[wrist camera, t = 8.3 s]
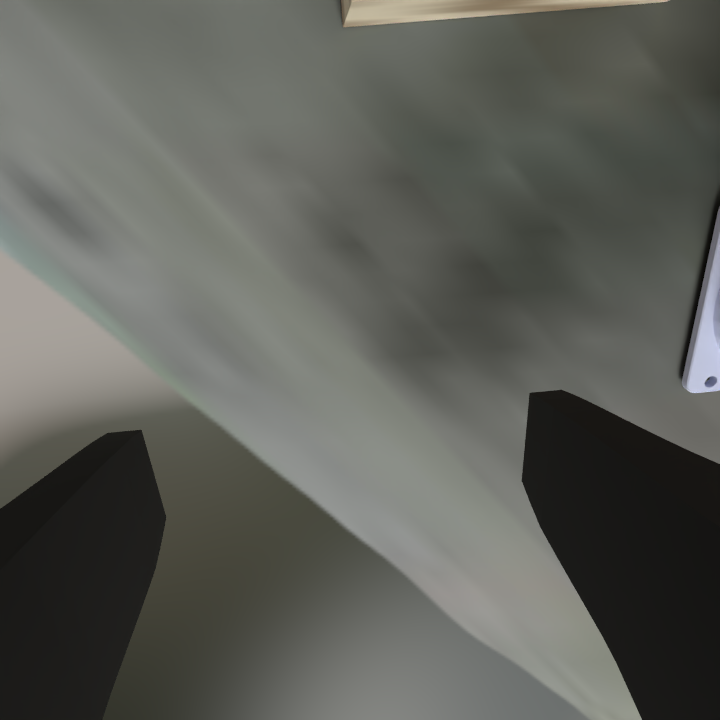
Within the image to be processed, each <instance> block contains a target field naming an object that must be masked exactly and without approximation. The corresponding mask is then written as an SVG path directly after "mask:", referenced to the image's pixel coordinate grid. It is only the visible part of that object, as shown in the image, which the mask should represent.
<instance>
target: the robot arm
mask: <svg viewBox="0 0 720 720" xmlns="http://www.w3.org/2000/svg"><path fill="white" fill-rule="evenodd" d="M709 377H710V379H709V380H708V381H707V382H705V381H706V379H707V378H709ZM682 385H683V387H684V388H685V389H686V390H688V391H689V392H691V393H702V392H711V391H720V206H719V209H718V214H717V218H716V223H715V228H714V232H713V237H712V242H711V247H710V251H709V256H708V261H707V265H706V270H705V275H704V279H703V284H702V289H701V294H700V298H699V303H698V308H697V312H696V317H695V322H694V327H693V331H692V336H691V341H690V345H689V350H688V355H687V360H686V364H685V369H684V374H683V378H682ZM522 482H523V485H524V488H525V490H526V493H527V495H528V498H529V501H530V503H531V506H532V508H533V510H534V513H535V515H536V518H537V520H538V522H539V525H540V527H541V529H542V531H543V533H544V534H545V536H546V538H547V540H548V542H549V543H550V545H551V547H552V549H553V551H554V552H555V554H556V556H557V558H558V559H559V561H560V563H561V565H562V566H563V568H564V570H565V572H566V573H567V575H568V577H569V579H570V580H571V582H572V584H573V586H574V587H575V589H576V591H577V593H578V594H579V596H580V598H581V600H582V601H583V603H584V605H585V607H586V608H587V610H588V612H589V614H590V615H591V617H592V619H593V620H594V622H595V624H596V626H597V627H598V629H599V631H600V633H601V634H602V636H603V638H604V640H605V642H606V644H607V646H608V648H609V650H610V652H611V653H612V655H613V657H614V659H615V661H616V663H617V665H618V667H619V670H620V672H621V674H622V676H623V678H624V681H625V683H626V685H627V687H628V689H629V692H630V694H631V696H632V698H633V700H634V703H635V705H636V707H637V709H638V712H639V714H640V716H641V718H642V720H720V464H718V463H716V462H713V461H711V460H709V459H706V458H704V457H702V456H700V455H697V454H695V453H693V452H691V451H688V450H686V449H684V448H682V447H680V446H678V445H676V444H673V443H671V442H669V441H667V440H665V439H663V438H661V437H659V436H657V435H655V434H653V433H651V432H649V431H647V430H645V429H642V428H640V427H638V426H636V425H634V424H632V423H630V422H628V421H626V420H624V419H622V418H620V417H619V416H617V415H615V414H613V413H611V412H609V411H607V410H605V409H603V408H601V407H599V406H597V405H594V404H592V403H590V402H588V401H586V400H584V399H582V398H580V397H578V396H575V395H573V394H571V393H568V392H566V391H563V390H556V391H545V392H535V393H530V395H529V406H528V417H527V429H526V440H525V451H524V462H523V473H522ZM165 521H166V515H165V511H164V508H163V504H162V501H161V497H160V494H159V490H158V487H157V483H156V480H155V476H154V472H153V469H152V465H151V462H150V458H149V455H148V451H147V448H146V444H145V441H144V437H143V434H142V430H135V431H124V432H114V433H107V434H105V435H104V436H102V437H100V438H99V439H97V440H95V441H94V442H92V443H91V444H89V445H88V446H86V447H85V448H84V449H82V450H81V451H79V452H78V453H77V454H75V455H74V456H72V457H71V458H70V459H68V460H67V461H65V463H63V464H61V465H60V466H59V467H57V468H56V469H55V470H53V471H52V472H51V473H49V474H48V475H47V476H45V477H44V478H43V479H41V480H40V481H38V482H37V483H35V484H34V485H33V486H31V487H30V488H29V489H27V490H26V491H24V492H23V493H22V494H20V495H19V496H18V497H16V498H15V499H14V500H12V501H11V502H9V503H8V504H7V505H5V506H4V507H2V508H1V509H0V720H102V719H103V716H104V713H105V709H106V707H107V703H108V700H109V697H110V694H111V691H112V689H113V686H114V683H115V680H116V677H117V675H118V672H119V669H120V666H121V663H122V661H123V658H124V655H125V653H126V650H127V647H128V644H129V642H130V639H131V636H132V633H133V631H134V628H135V625H136V622H137V619H138V617H139V614H140V611H141V608H142V606H143V603H144V600H145V597H146V594H147V591H148V588H149V586H150V583H151V580H152V577H153V574H154V571H155V568H156V563H157V560H158V555H159V551H160V546H161V542H162V536H163V531H164V526H165Z"/></svg>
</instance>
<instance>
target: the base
mask: <svg viewBox="0 0 720 720" xmlns="http://www.w3.org/2000/svg"><path fill="white" fill-rule="evenodd" d="M666 1H669V0H341V8H342V21H343V27H354V26H366V25H379V24H392V23H404V22H417V21H430V20H442V19H455V18H468V17H480V16H493V15H506V14H518V13H531V12H544V11H556V10H569V9H582V8H594V7H607V6H620V5H632V4H645V3H658V2H666Z"/></svg>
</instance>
